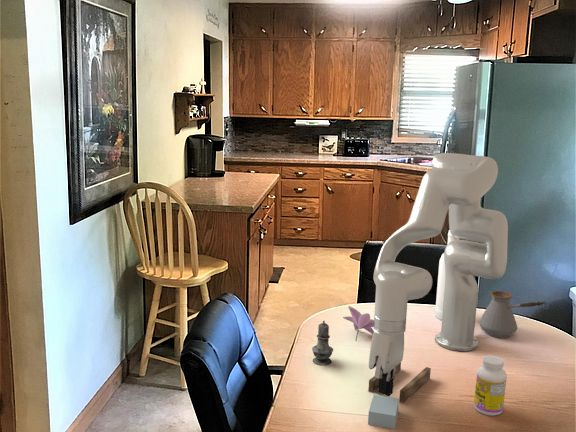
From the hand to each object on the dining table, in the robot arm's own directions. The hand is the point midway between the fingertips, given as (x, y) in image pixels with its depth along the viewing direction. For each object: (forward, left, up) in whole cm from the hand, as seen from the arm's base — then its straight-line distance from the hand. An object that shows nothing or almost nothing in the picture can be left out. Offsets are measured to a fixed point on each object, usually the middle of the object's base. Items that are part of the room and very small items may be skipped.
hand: (385, 393), depth 148 cm
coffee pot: (-57, +14, -1) cm, 59 cm away
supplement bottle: (-10, +22, -1) cm, 24 cm away
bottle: (-61, -8, -1) cm, 62 cm away
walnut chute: (-8, 0, -1) cm, 8 cm away
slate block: (+9, +4, -2) cm, 9 cm away
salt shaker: (-7, -23, -1) cm, 24 cm away
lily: (-29, -23, -2) cm, 37 cm away
